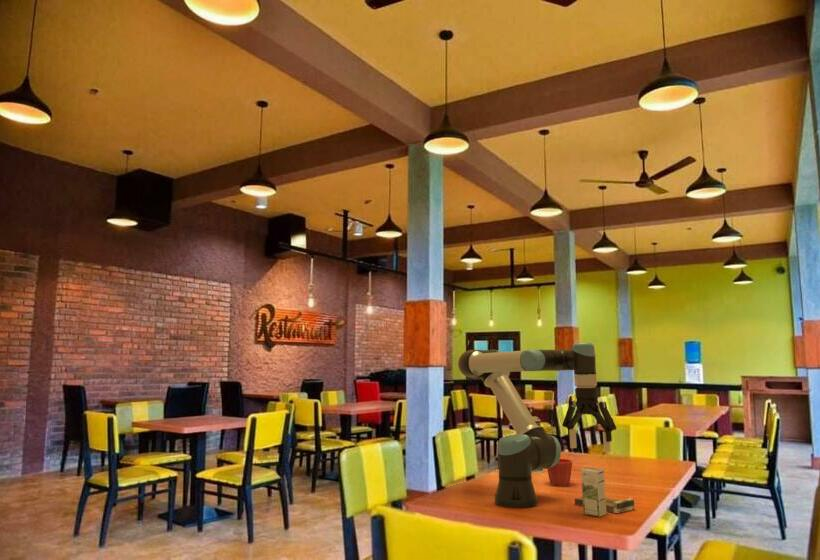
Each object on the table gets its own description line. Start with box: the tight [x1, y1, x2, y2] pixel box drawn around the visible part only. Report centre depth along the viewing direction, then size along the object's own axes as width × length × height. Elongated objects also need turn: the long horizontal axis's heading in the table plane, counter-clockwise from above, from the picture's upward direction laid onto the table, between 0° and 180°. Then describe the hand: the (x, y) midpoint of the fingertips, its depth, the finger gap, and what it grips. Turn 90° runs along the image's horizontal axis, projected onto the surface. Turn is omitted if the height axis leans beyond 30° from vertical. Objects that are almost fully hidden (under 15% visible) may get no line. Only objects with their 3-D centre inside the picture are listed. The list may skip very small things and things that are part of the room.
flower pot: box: [547, 458, 573, 487], centre depth 242 cm, size 11×11×10 cm
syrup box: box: [580, 467, 607, 518], centre depth 193 cm, size 6×6×14 cm
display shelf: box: [574, 496, 636, 514], centre depth 202 cm, size 10×17×4 cm, turn 36°
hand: (590, 449), depth 201 cm, fingers open, 13 cm apart
